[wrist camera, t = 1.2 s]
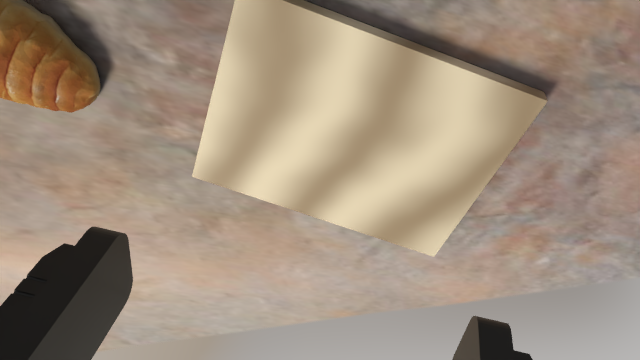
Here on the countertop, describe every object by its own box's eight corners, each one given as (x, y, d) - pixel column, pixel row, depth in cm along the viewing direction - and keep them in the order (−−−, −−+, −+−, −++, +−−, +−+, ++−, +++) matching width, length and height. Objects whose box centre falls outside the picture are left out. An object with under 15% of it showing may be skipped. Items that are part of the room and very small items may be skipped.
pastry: (121, 44, 33) (93, 75, 30) (91, 121, 37) (64, 155, 34) (-38, -45, 30) (-85, -21, 27) (-51, 48, 34) (-94, 77, 31)
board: (196, 167, 38) (192, 176, 37) (243, -23, 29) (239, -17, 28) (433, 246, 40) (433, 256, 39) (544, 92, 31) (547, 101, 30)
